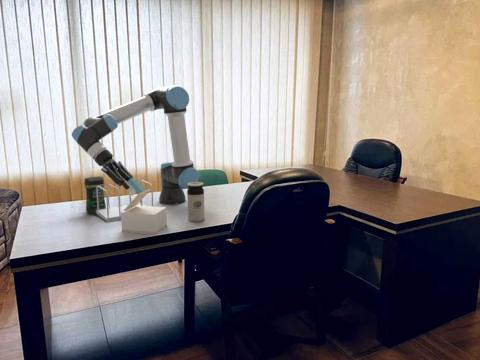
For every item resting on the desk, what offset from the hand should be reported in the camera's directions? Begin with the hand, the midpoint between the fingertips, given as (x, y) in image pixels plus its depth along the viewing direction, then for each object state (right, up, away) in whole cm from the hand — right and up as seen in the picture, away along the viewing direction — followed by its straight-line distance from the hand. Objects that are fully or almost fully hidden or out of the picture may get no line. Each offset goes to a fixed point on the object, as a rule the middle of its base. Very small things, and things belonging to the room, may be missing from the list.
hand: (136, 192), depth 167 cm
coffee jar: (-29, -11, +30) cm, 44 cm away
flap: (+1, -4, +1) cm, 4 cm away
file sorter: (-13, -12, +27) cm, 33 cm away
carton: (+3, -17, +3) cm, 17 cm away
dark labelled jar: (+25, -14, +16) cm, 33 cm away
